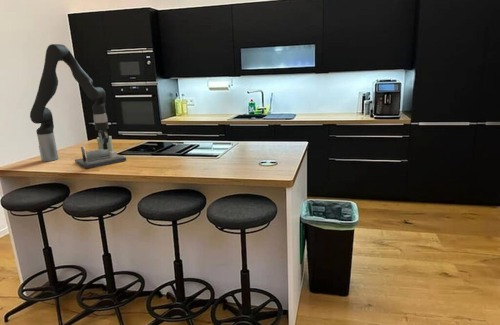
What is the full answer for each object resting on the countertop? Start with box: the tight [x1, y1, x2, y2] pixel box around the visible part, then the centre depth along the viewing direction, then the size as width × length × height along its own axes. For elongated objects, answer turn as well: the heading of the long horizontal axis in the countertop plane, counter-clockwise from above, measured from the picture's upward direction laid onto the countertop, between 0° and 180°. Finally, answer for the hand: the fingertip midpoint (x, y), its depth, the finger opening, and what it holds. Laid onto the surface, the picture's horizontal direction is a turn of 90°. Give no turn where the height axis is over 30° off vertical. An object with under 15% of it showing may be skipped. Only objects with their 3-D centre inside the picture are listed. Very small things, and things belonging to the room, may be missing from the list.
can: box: [96, 135, 114, 153], centre depth 236 cm, size 9×9×12 cm
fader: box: [109, 150, 118, 158], centre depth 217 cm, size 3×4×4 cm
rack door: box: [85, 148, 109, 159], centre depth 221 cm, size 13×2×4 cm, turn 131°
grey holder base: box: [74, 146, 127, 170], centre depth 217 cm, size 24×20×10 cm
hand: (105, 149), depth 217 cm, fingers closed
